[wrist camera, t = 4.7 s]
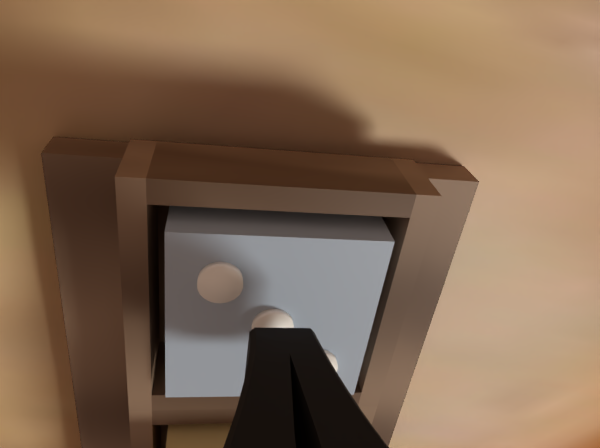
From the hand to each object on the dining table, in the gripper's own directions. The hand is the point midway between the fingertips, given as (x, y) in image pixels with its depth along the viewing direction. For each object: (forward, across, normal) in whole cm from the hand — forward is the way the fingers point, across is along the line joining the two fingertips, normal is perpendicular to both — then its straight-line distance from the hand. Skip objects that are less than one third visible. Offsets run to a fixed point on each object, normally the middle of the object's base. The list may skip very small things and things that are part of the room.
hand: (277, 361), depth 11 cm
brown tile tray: (+4, 0, +7) cm, 8 cm away
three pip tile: (+3, 0, 0) cm, 3 cm away
